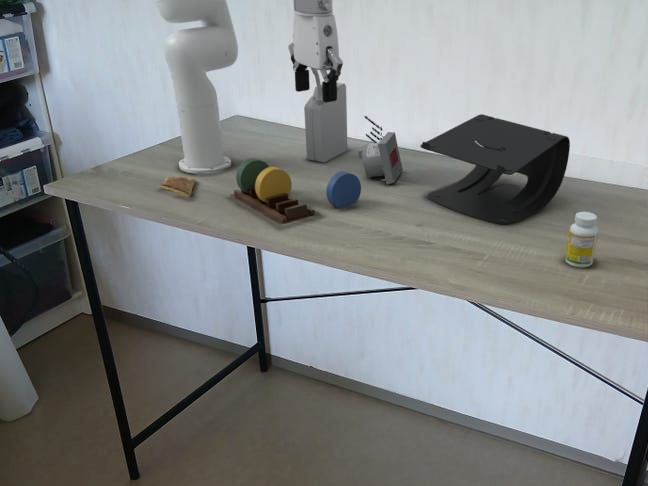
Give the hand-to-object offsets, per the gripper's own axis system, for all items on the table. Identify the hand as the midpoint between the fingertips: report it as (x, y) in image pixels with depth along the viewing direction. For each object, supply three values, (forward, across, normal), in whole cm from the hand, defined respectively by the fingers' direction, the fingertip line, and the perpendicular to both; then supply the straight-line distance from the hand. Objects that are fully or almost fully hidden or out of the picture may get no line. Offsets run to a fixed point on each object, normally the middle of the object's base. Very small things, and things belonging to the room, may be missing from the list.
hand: (316, 95), depth 154 cm
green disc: (+23, +12, +9) cm, 28 cm away
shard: (+24, +26, +19) cm, 40 cm away
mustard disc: (+23, +4, +9) cm, 25 cm away
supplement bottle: (+23, -55, -22) cm, 64 cm away
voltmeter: (+24, +11, -26) cm, 37 cm away
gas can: (+24, +26, -20) cm, 41 cm away
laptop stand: (+23, -22, -33) cm, 46 cm away
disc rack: (+24, +4, +9) cm, 26 cm away
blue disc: (+24, -5, -3) cm, 24 cm away
